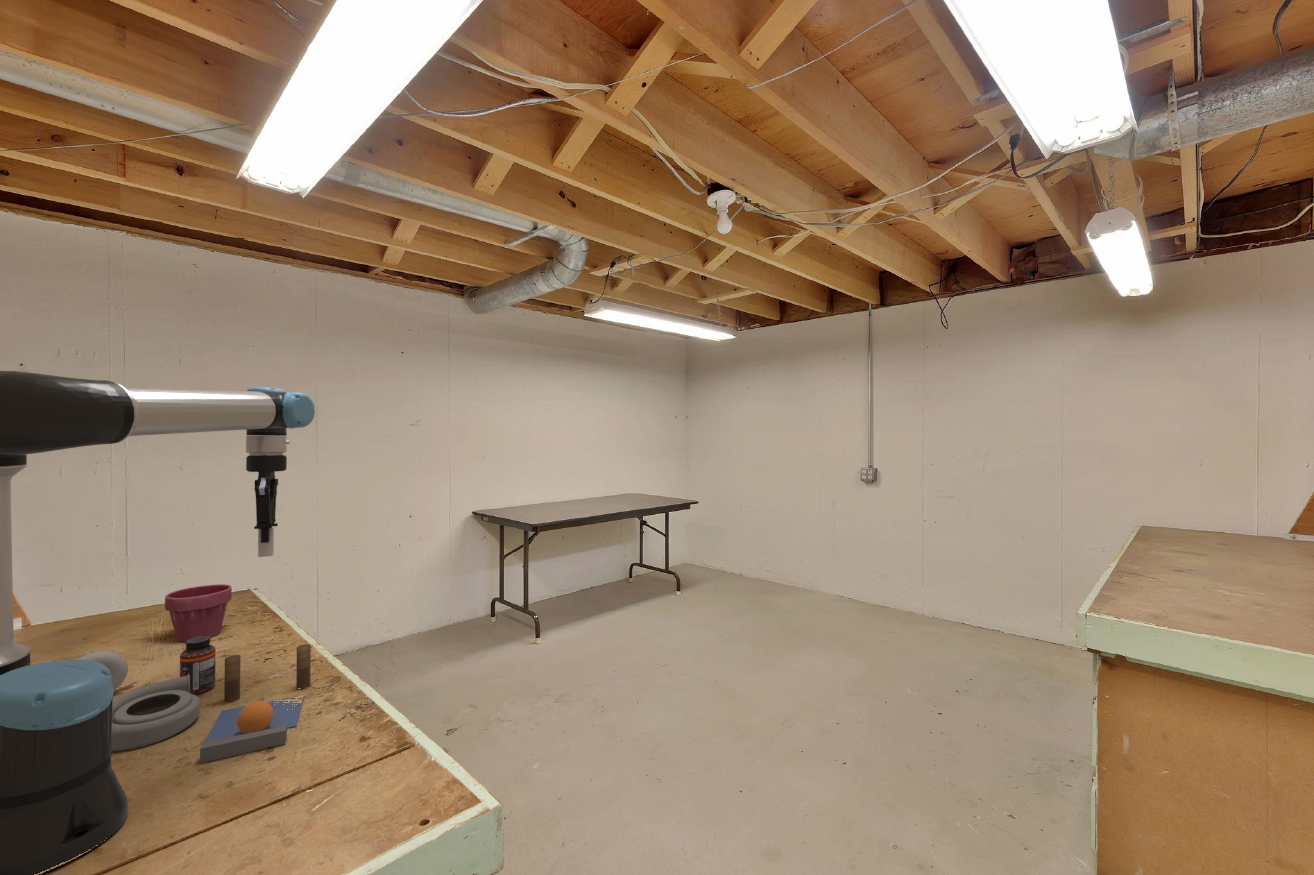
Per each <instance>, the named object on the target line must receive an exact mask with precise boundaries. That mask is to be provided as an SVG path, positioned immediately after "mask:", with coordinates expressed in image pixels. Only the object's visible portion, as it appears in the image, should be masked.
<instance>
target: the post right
mask: <svg viewBox="0 0 1314 875" xmlns="http://www.w3.org/2000/svg"><path fill="white" fill-rule="evenodd" d="M311 646H312V645H311V644H309V643H306V644H300V645H298V646H297V647H296V676H295V677H296V683H295V684H296V685H295V686H296V687H295V688H305V689H307V688H306V687H307V686H309V687H310V686H311V661H312V660H311V658H312V657H311V655H312V654H311V652H312V651H311V649H312V648H311Z"/></svg>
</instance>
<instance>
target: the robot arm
mask: <svg viewBox="0 0 1314 875" xmlns="http://www.w3.org/2000/svg"><path fill="white" fill-rule="evenodd" d="M315 407H316V406H315V403H314V401H313V400H312V398H311V397H310V396H309V395H307V394H306V393H303V392H296V391H295V392H294V391H287V392H286V391H285V389H282V388H278V387H267V386H266V387H264V386H253V387H249V388H247V390H246V391H245V390H244V391H243V390H214V389H182V388H181V389H180V388H176V389H175V388H145V387H144V388H143V387H125V386H124V385H122V384H120V383H118V382H115V381H112V380H104V379H103V380H101V379H88V378H87V379H86V378H85V379H84V378H77V377H67V376H58V375H52V374H43V373H37V372H27V371H19V370H17V371H15V370H0V875H34V874H38V873H40V872H42V871H45V870H47V869H50V868H51V867H54V866H56V865H59V864H60V863H62V862H66V861H68V860H70V859H72V858H74V857H76V856H78V855H79V854H82V853H84V852H86V851H88V850H89V849H92V848H93V847H95V846H96V845H99V844H100V843H101V842H103V841H104V840H106V838H109V837H110V836H111V835H112V836H113V835H115V834H116V833H117V832H118V831H119V830H120V829H121V828H122V826H123V825H124V823H125V822H126V821H127V818H128V813H129V812H128V811H129V809H128V808H129V807H128V806H129V801H128V796H127V794H126V792H125V790H124V788H123V787H122V785H121V783H120V781H119V778H118V777H117V775H116V773H115V771H114V770H113V767H112V752H111V735H112V700H114V694H115V690H114V689H113V686H112V680H111V673H110V671H109V669H108V668H107V667H106V666H105V665H103V664H101V663H99V662H96V661H92V660H84V659H79V658H67V659H65V660H60V661H59V660H57V659H56V660H48V661H43V662H37V663H33V664H31V649H30V647H29V646H27V645H24V644H22V643H21V642H19V641H18V642H17V641H16V640H15V638H14V635H15V634H14V597H13V596H14V594H13V593H14V592H13V586H14V585H13V584H14V583H13V544H12V540H13V538H12V535H13V534H12V533H13V532H12V530H13V529H12V486H11V485H12V484H11V481H12V478H13V477H14V476H15V475H17V474H18V473H20V472H21V471H22V470H24V469H25V468H26V467H28V466H27V465H28V464H27V462H28V460H27V458H28V456H27V455H32V454H33V455H34V454H40V453H41V454H42V453H49V452H53V451H59V450H60V451H61V450H68V449H73V448H75V449H76V448H82V447H89V446H99V445H101V446H102V445H112V444H113V445H114V444H117V443H120V442H123V441H124V440H127V439H128V437H134V436H135V437H136V436H152V435H153V436H155V435H172V434H191V433H207V432H209V433H210V432H211V433H212V432H227V431H243V430H246V436H245V438H246V440H245V452H246V453H247V454H248V455H247V456H246V458H245V459H246V461H245V462H246V463H245V465H246V466H245V467H246V468H245V470H246V472H248V473H249V472H250V473H258V474H257V479H255V480H254V489H253V490H254V494H255V510H256V511H255V517H256V525H255V526H254V527H253V528H254V530H258V533H257V534H258V535H257V536H258V538H257V543H258V544H257V550H258V551H257V552H258V553H257V557H258V558H264V557H273V556H274V555H275V553H274V552H275V551H274V549H275V548H274V547H275V545H274V544H275V541H274V540H275V527H278V525H279V524H278V523H277V522H276V511H277V510H276V509H277V506H276V504H277V496H278V495H277V494H278V491H277V490H278V485H279V478H276V473H275V472H284V471H286V470H287V468H288V467H287V464H288V462H287V459H288V458H287V456H286V455H285V453H286V452H287V445H289V444H290V443H291V441H290V440H289V439H287V429H295V428H305V427H308V426H309V425H310V424H311V423H312V422H313V420H314V418H315V414H316V412H315V410H316V409H315ZM116 831H117V832H116ZM114 833H115V834H114ZM112 836H111V837H112ZM111 837H110V838H111ZM110 838H109V839H110ZM106 841H107V840H106ZM103 843H104V842H103ZM100 845H101V844H100ZM100 845H99V846H100Z"/></svg>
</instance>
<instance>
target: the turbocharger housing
mask: <svg viewBox="0 0 1314 875" xmlns="http://www.w3.org/2000/svg"><path fill="white" fill-rule="evenodd" d="M200 713H201V700H200V698H199V697H198V695H197V694H196V695H193V694H190V675H189V674H188V675H187V676H184V677H180V676H179V677H176V678H172V679H171V678H170V679H167V680H162V681H158V682H154V683H150V684H147V685H143V686H141V687H138V688H135V689H133V690H130V691H128V692H126V693H124V694H121V695H119V696H117V697H116V698H113V700H112V735H111V753H112V752H113V753H114V752H123V751H129V750H131V751H132V750H135V749H139V748H144V747H147V746H150V745H154V744H156V743H159V742H161V741H164V740H167V739H170V738H171V737H172V736H174V735H176V734H178V733H180V732H182V731H184V730H185V729H186V728H188V727H189V726H191V725H192V724H193V723H194V722H195V720H197V719H198V716H199V715H200Z"/></svg>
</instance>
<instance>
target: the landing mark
mask: <svg viewBox="0 0 1314 875" xmlns="http://www.w3.org/2000/svg"><path fill="white" fill-rule="evenodd" d="M289 698H290V697H285V698H281V699H282V700H285V699H286V700H287V699H289ZM290 699H291V700H292V699H293V700H294V699H296V698H290ZM297 699H298V698H297ZM299 699H301V698H299ZM303 699H305V697H304V698H303ZM278 700H280V699H278ZM266 702H267V703H269V702H270V703H269V704H270V705H271V706H272V708H273V711H274V715H273V719H272V721H271V722H270V724H269V725H268V726H267V727H266V728H265V729H264V730H267V729H271V728H276V727H281V726H285V725H287V730H288V728H289V729H292V727H293V728H297V727H298V726H297V725H298V723H299V718H300V715H299V714H301V711H300V710H302V707H303V703H292V702H294V701H290V703H283V702H288V701H274V700H270V701H266ZM274 702H275V703H274ZM276 702H279V703H276ZM295 702H297V701H295ZM298 702H299V701H298ZM274 704H275V705H274ZM283 704H284V705H283ZM292 704H293V705H292ZM294 704H295V705H294ZM296 704H297V705H296ZM246 706H247V705H242V706H239V707H238V706H237V707H233V708H228V709H223V710H222V709H221V712H220V713H219V715H218V717H217V719H216V721H215V722H214V723H213V724H214V725H213V726H212V728H211V729H210V731H209V733H208V735H207V737H206V738H205V740H204V742H203V743H205V742H210V741H215V740H219V739H224V738H229V737H233V736H238V735H243V734H246V733H243V732H242V731H240V730H239V728H238V726H237V719H238V716H239V714H240V712H241V711H242V710H243V709H244V708H245V707H246ZM294 706H295V707H294ZM301 706H302V707H301ZM287 709H288V710H287ZM292 709H293V710H292Z"/></svg>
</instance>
